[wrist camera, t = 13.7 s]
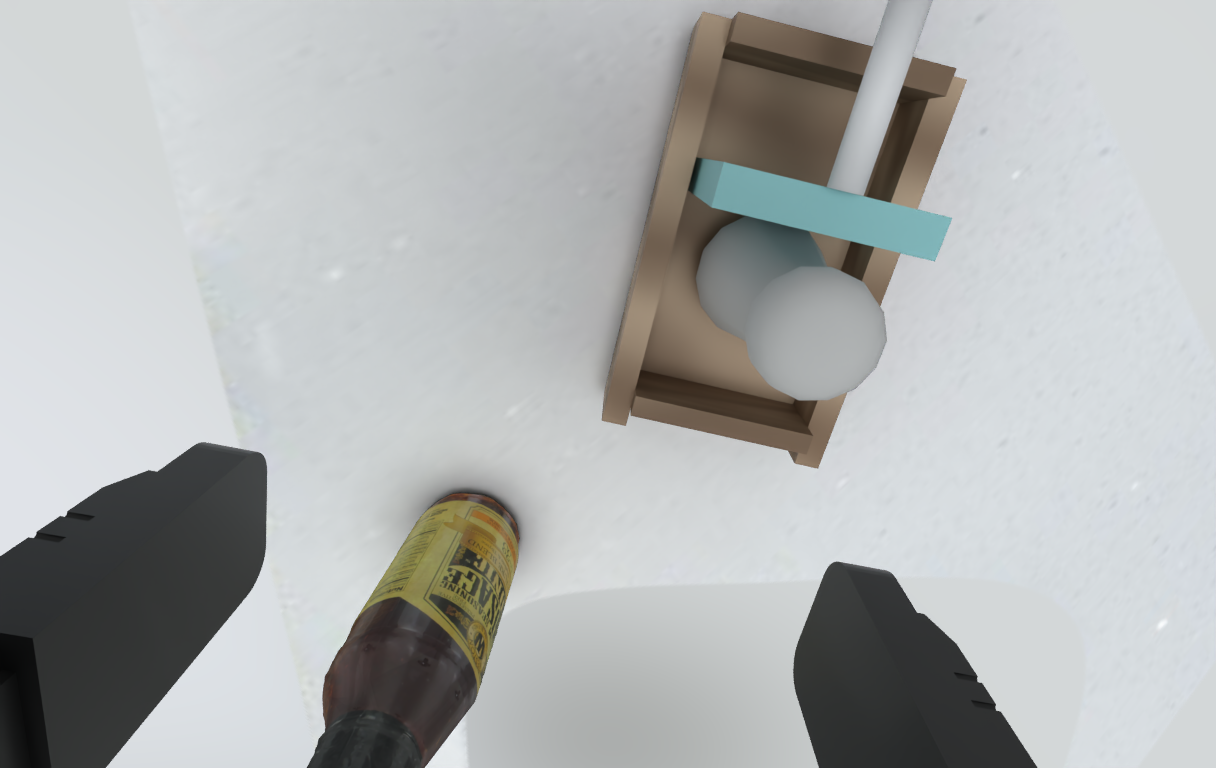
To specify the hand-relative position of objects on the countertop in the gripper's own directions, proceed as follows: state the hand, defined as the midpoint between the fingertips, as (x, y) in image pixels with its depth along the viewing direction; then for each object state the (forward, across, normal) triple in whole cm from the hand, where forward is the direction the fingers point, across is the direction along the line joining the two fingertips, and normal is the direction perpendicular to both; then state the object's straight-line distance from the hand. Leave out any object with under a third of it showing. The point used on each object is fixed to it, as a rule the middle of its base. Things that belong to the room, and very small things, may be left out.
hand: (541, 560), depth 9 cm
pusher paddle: (+24, -8, -8) cm, 26 cm away
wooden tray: (+25, -7, -2) cm, 26 cm away
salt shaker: (+25, -7, -1) cm, 26 cm away
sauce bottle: (+26, +4, +17) cm, 31 cm away
